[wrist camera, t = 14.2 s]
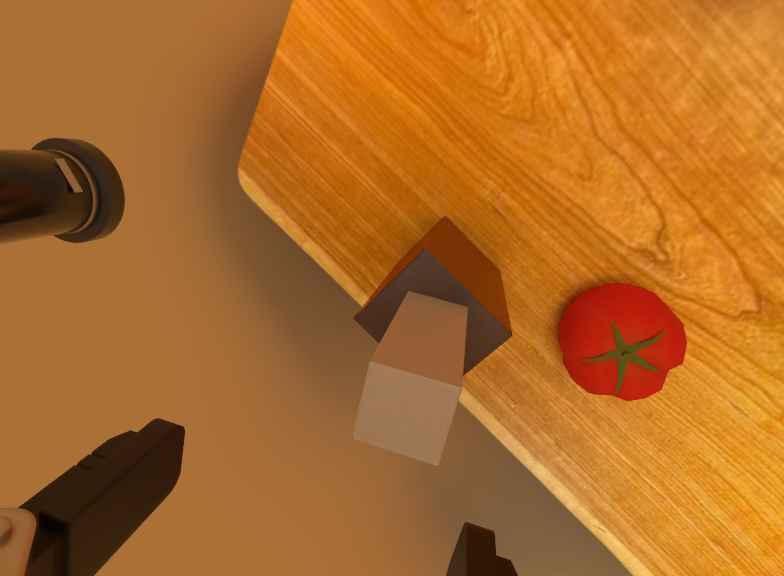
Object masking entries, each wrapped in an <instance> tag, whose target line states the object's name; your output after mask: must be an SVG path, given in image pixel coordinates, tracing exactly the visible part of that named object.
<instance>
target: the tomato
mask: <svg viewBox="0 0 784 576" xmlns="http://www.w3.org/2000/svg"><path fill="white" fill-rule="evenodd" d="M558 341H559V344H560V347H561V349H562V352H563V362H564V365H565V367H566V369H567V371H568V373H569V374H570V376H571V378H572V379H573V380H574V381H575V382H576V383H577V384H578V385H580V386H581V387H582V388H583V389H584V390H586V391H587V392H588V393H591V394H597V395H612V396H615V397H618V398H621V399H624V400H626V401H632V400H637V399H643V398H647V397H649V396H651V395H652V394H654V393H656V392H658V391H660V390H662V387H663V384H664V381H665V379H666V376H667V373H668V370H670V369H672V368H674V367H676V366H679V365H681V364H683V361H684V356H685V350H686V345H687V340H686V335H685V331H684V326H683V324H682V322H681V321H680V320H679V318H678V317H677V316H676V315H675V314H674V313H673V312H672V311H671V310H670V309H669V308H668V307H667V305H666V304H665V303H664V302H663V301H662V300H661V299H660V298H659V297H658V296H657V295H656V294H655V293H654V292H651V291H648V290H645V289H642V288H639V287H636V286H633V285H630V284H608V285H604V286H600V287H596V288H593V289H591V290H589V291H587V292H585V293H584V294H582V295H580V296H579V297H577V298H576V299H575V300H574V301H573V302H572V303H571V304H570V305H569V307H568V308H567V309H566V310H565V311H564V314H563V317H562V319H561V322H560V324H559V333H558Z"/></svg>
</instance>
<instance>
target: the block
mask: <svg viewBox="0 0 784 576" xmlns="http://www.w3.org/2000/svg"><path fill="white" fill-rule="evenodd" d="M467 315H468V307H466V306H463V305H459V304H455V303H452V302H448V301H445V300H441V299H437V298H434V297H430V296H426V295H423V294H419V293H415V292H412V291H408V292H407V294H406V296H405V298H404V300H403V302H402V303H401V305H400V307H399V309H398V311H397V313H396V314H395V316H394V318H393V320H392V322H391V323H390V325H389V327H388V329H387V331H386V333H385V334H384V336H383V338H382V340H381V342H380V343H379V345H378V347H377V349H376V351H375V353H374V354H373V356H372V358H371V360H370V362H369V366H368V371H367V375H366V379H365V383H364V388H363V392H362V396H361V401H360V405H359V409H358V413H357V418H356V422H355V426H354V431H353V435H352V439H354V440H357V441H360V442H363V443H366V444H370V445H373V446H376V447H379V448H382V449H385V450H388V451H392V452H395V453H398V454H401V455H404V456H407V457H411V458H414V459H417V460H420V461H423V462H426V463H429V464H432V465H436V466H438V464H439V461H440V458H441V455H442V452H443V448H444V445H445V442H446V439H447V435H448V432H449V429H450V426H451V423H452V419H453V416H454V413H455V410H456V406H457V403H458V400H459V397H460V393H461V390H462V381H463V368H464V355H465V341H466V328H467Z"/></svg>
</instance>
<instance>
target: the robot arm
mask: <svg viewBox="0 0 784 576" xmlns="http://www.w3.org/2000/svg"><path fill="white" fill-rule="evenodd" d="M100 207H101V194H100V189H99V185H98V182H97V180H96V178H95V176H94V174H93V172H92V171H91V169H90V168H89V167H88V166H87V164H86V163H85V162H84V161H83V160H81V159H80V158H79V157H77V156H76V155H74V154H72V153H70V152H67V151H63V150H19V149H18V150H17V149H0V244H5V243H11V242H17V241H23V240H29V239H35V238H40V237H46V236H53V235H58V234H69V233H76V232H81V231H84V230H86V229H88V228H89V227H90V226H91V225H93V223H94V222H95V221H96V219H97V217H98V215H99V212H100ZM184 437H185V429H184V427H183V426H180V425H177V424H174V423H171V422H168V421H165V420H162V419H159V418H157V419H154V420H153V421H151V422H150V423H149V424H147V425H146V426H145V427H144V428H142V429H141V430H140V431H139V432H134V431H131V430H130V431H128V432H126V433H123V434H121V435H118V436H115V437H113V438H111V439H109V440H107V441H106V442H105V443H103V444H102V445H101V446H99V447H98V448H97V449H95V450H94V451H93V452H92V454H91V455H88V456H86V457H85V458H84V459H82V460H81V461H79V463H78V464H77V465H76V466H73V467H72V468H70V469H69V470H68V471H66V472H65V473H64V474H62V475H61V476H60V477H58V478H57V479H56V480H54V481H53V482H52V483H50V484H49V485H48V486H46V487H45V488H44V489H42V490H41V491H40V492H39V493H37V494H36V495H35V496H33V497H32V498H31V499H29V500H28V501H27V502H25V503H24V504H22V505H21V506H20V507H18V508H1V509H0V576H94V575H95V574H96V573H97V572H98V571H99V570H100V568H101V567H102V566H103V565H104V564H105V563H106V562H107V561H108V560H109V559H110V558H111V556H113V554H114V553H115V552H116V551H117V550H118V549H119V548H120V547H121V546H122V545H123V543H125V541H126V540H127V539H128V538H129V537H130V536H131V535H132V534H133V533H134V532H135V531H136V530H137V528H138V527H139V526H140V525H141V524H142V523H143V522H144V521H145V520H146V519H147V518H148V517H149V515H150V514H151V513H152V512H153V511H154V510H155V509H156V508H157V507H158V506H159V504H161V502H162V501H163V500H164V499H165V498H166V497H167V496H168V495H169V494H170V492H171V491H172V490H173V488H174V486H175V485H176V483H177V480H178V478H179V475H180V471H181V464H182V455H183V445H184ZM446 576H518V575H517V573H516V571H515V568H514V566H513V564H512V562H511V560H508V559H505V558H502V557H499V556H496V547H495V534H494V532H493V531H492V530H489V529H486V528H483V527H480V526H477V525H474V524H471V523H468V522H465V524H464V525H463V528H462V531H461V533H460V536H459V539H458V542H457V544H456V547H455V550H454V552H453V555H452V558H451V561H450V564H449V567H448V571H447V574H446Z"/></svg>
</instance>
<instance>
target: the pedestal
mask: <svg viewBox="0 0 784 576" xmlns="http://www.w3.org/2000/svg"><path fill="white" fill-rule="evenodd" d="M408 291H412V292H415V293H419V294H423V295H426V296H430V297H434V298H437V299H441V300H445V301H448V302H452V303H455V304H459V305H463V306H466V307H468V315H467V328H466V341H465V355H464V368H463V376H464V375H465V374H466V373H467V372H469V371H470V370H471V369H472V368H474V367H475V366H476V365H477V364H478V363H480V362H481V361H482V360H483V359H484V358H486V357H487V356H488V355H489V354H491V353H492V352H493V351H494V350H495V349H497V348H498V347H499V346H500V345H502V344H503V343H504V342H505V341H506V340H508V339H509V338H510V337H511V336H512V331H511V325H510V320H509V315H508V310H507V305H506V300H505V294H504V289H503V284H502V279H501V274H500V271H499V269H498V268H497V267H496V266H495V265H494V264H493V263H492V262H491V261H490V260H489V259H488V258H487V257H486V256H485V255H484V254H483V253H482V252H481V251H480V250H479V249H478V248H477V247H476V246H475V245H474V244H473V243H472V242H471V241H470V240H469V239H468V238H467V237H466V236H465V235H464V234H463V233H462V232H461V231H460V230H459V229H458V228H457V227H456V226H455V225H454V224H453V223H452V222H451V221H450V220H449V219H448V218H447V217H446V216H445V217H444V218H443V219H442V220H440V221H439V222H438V223H437V224H436V225H435V226H434V227H433V228H432V229H431V230H430V231H429V232H428V233H427V234H426V235H425V236H424V237H423V238H422V239H421V240H420V241H419V242H418V243H417V244H416V245H415V246H414V247H413V248H412V249H411V250H410V251H409V252H408V253H407V254H406V255H405V256H404V257H403V258H402V259H401V260H400V261H399V262H398V263H397V265H396V266H395V267H394V268H393V270H392V271H391V272H390V273H389V275H388V276H387V277H386V278H385V280H384V281H383V282H382V283H381V285H380V286H379V287H378V288H377V289H376V291H375V292H374V293H373V294H372V296H371V297H370V298H369V299H368V301H367V302H366V303H365V304H364V306H363V307H362V308H361V309H360V311H359V312H358V313H357V314H356V316H355V317H354V319H355V320H356V321H357V322H358V323H359V324H360V325H361V326H362V327H363V328H364V329H365V330H366V331H367V332H368V333H369V334H370V335H371V336H372V337H373V338H374V339H375V340H376V341H377V342H378V343H380V342H381V340H382V338H383V336H384V334H385V333H386V331H387V329H388V327H389V325H390V323H391V322H392V320H393V318H394V316H395V314H396V313H397V311H398V309H399V307H400V305H401V303H402V302H403V300H404V298H405V296H406V294H407V292H408Z"/></svg>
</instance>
